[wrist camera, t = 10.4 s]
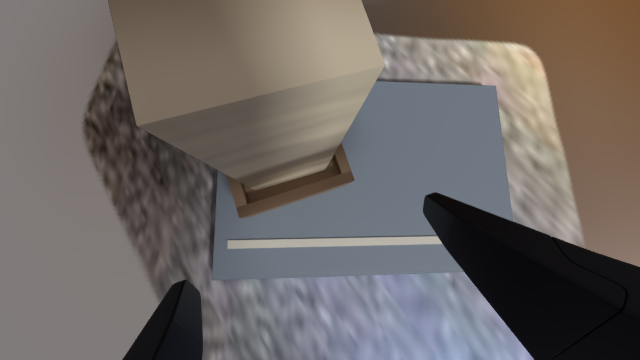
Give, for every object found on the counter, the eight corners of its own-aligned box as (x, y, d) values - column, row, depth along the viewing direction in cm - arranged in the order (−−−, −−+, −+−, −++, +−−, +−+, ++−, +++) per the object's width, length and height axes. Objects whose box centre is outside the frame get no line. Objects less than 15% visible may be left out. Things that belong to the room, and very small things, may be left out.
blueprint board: (508, 267, 20) (520, 270, 19) (216, 276, 18) (211, 280, 17) (486, 91, 22) (496, 85, 21) (226, 82, 20) (222, 74, 19)
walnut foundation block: (346, 185, 19) (354, 180, 16) (248, 217, 18) (239, 218, 15) (315, 95, 20) (317, 75, 17) (219, 121, 19) (206, 105, 16)
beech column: (324, 170, 17) (385, 65, 5) (256, 190, 16) (136, 125, 4) (304, 106, 17) (314, -125, 6) (237, 123, 17) (86, -95, 5)
